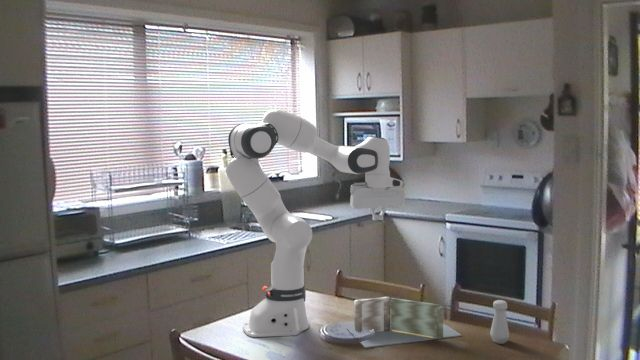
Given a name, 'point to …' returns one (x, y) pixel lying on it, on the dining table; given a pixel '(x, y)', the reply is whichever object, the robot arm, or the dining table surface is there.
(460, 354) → the dining table surface
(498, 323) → the salt shaker
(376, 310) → the beige patterned panel
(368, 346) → the board
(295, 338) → the dining table surface
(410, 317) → the green fence panel
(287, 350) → the dining table surface
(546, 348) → the dining table surface
